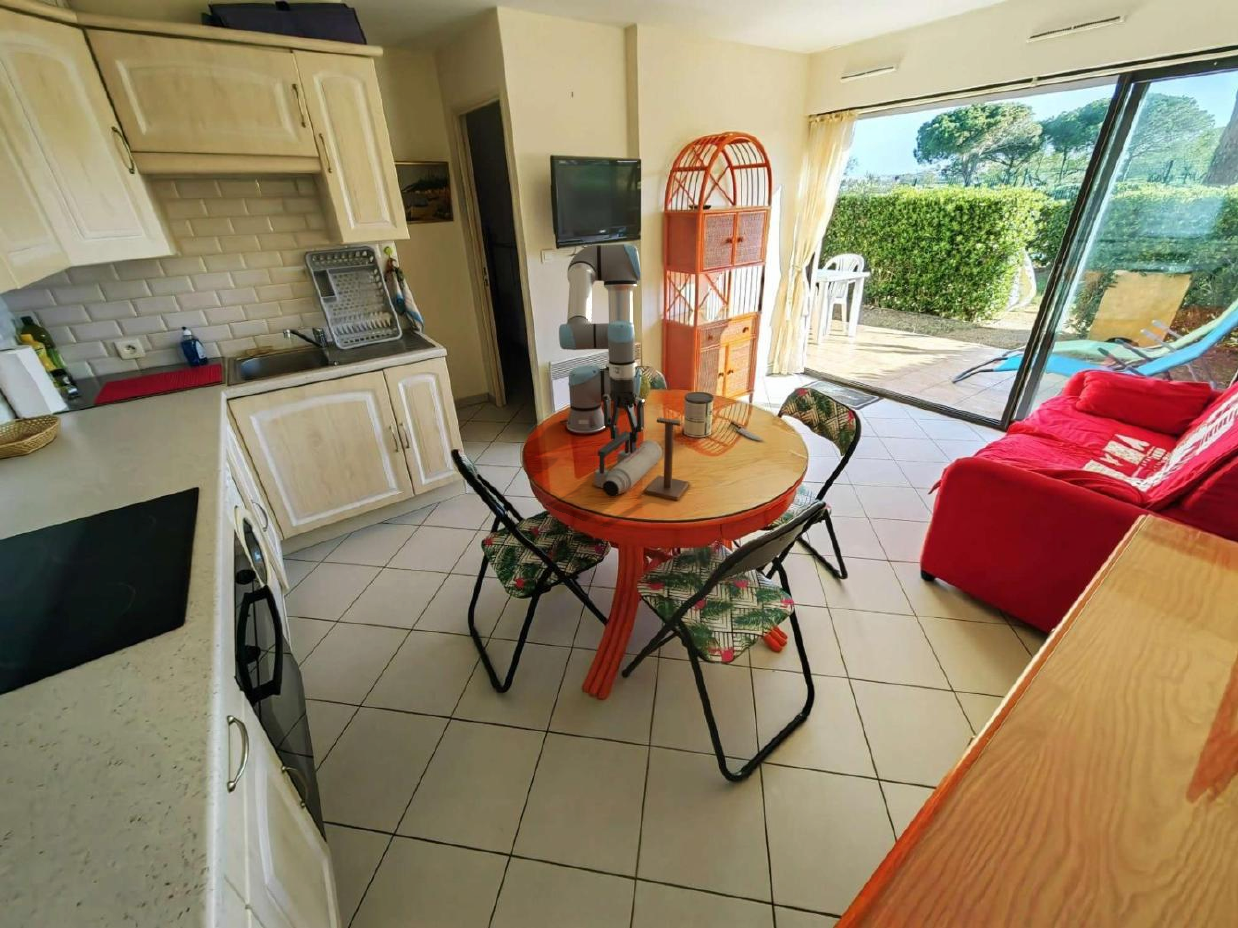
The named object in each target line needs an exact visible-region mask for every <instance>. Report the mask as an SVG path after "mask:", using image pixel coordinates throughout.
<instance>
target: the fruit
mask: <svg viewBox="0 0 1238 928" xmlns="http://www.w3.org/2000/svg"><path fill="white" fill-rule="evenodd" d="M650 394H651V382H650V381H649V377H647V375H646V374H644V373H642V372H641V384H640V392H639V396H638V398H640V399H643V398H644V399H645V401H646V400H647V399H648V397H649V396H650ZM633 405H636V401H634V403H633Z"/></svg>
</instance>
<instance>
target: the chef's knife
mask: <svg viewBox="0 0 1238 928" xmlns="http://www.w3.org/2000/svg"><path fill="white" fill-rule="evenodd" d="M730 425H731V426H734V427H736V428H737V430H736V432H738V433H740V434H742V435H743V436H745V437H746V438H749V439H752V440H754V441H758V442H764V440H762V439H761V438H760V437H759V436H757V435H755V434H754V433H752V432H750V431H748V430H747V429H745V428H743V427H742V426H740V425H739V424H737V423H736V422H734V421H731V422H730Z"/></svg>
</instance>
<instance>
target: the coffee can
mask: <svg viewBox="0 0 1238 928" xmlns="http://www.w3.org/2000/svg"><path fill="white" fill-rule="evenodd" d="M714 398H715V397H714V395H713V394H711V393H709V392H704V391H692V392H688V393H686V394H685V395H684V418H683V419H684V421H683V434H684V435H686V436H688V437H690V438H706V437H709V436H711V434H712V425H713V423H712V421H713V411H714V410H713V409H714V408H713V407H714Z"/></svg>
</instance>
